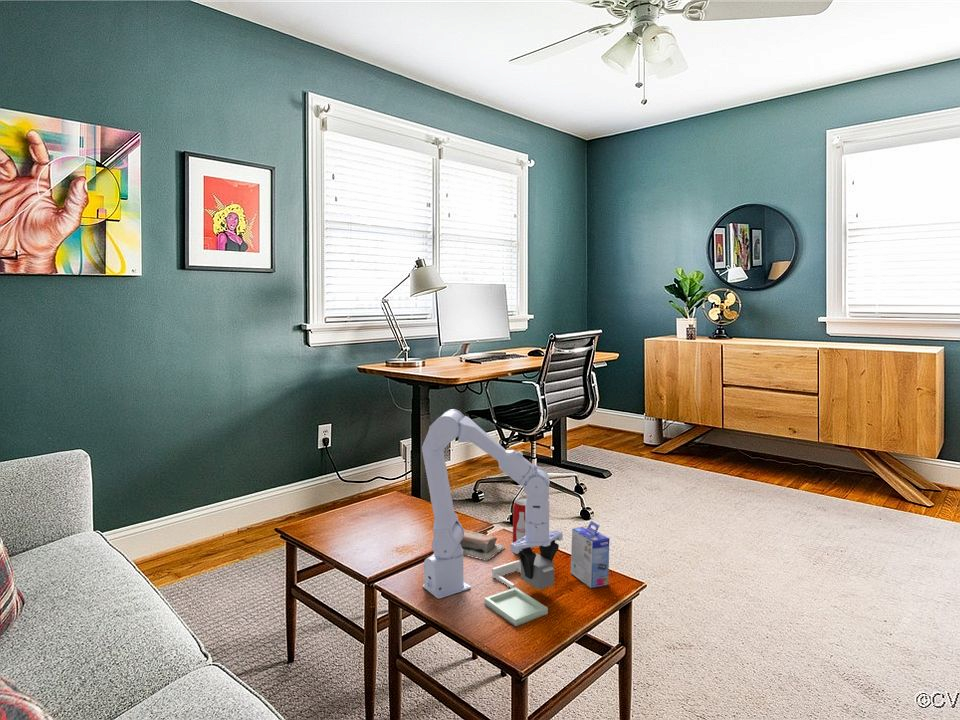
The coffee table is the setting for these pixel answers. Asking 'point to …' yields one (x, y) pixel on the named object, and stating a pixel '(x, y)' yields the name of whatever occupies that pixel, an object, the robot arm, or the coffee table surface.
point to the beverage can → (519, 519)
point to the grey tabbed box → (540, 573)
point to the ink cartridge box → (590, 556)
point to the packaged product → (479, 545)
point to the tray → (515, 606)
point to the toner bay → (506, 572)
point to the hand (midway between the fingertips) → (537, 574)
